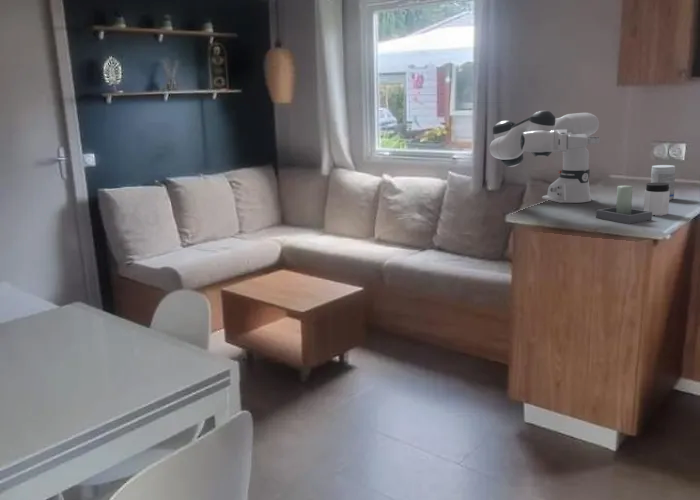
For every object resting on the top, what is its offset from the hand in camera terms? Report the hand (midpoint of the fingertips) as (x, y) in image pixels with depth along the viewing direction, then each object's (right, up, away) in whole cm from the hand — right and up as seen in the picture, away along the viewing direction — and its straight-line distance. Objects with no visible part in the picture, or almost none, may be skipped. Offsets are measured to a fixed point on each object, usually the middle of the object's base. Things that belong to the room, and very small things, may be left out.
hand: (599, 139), depth 254 cm
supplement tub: (+41, -20, +36) cm, 58 cm away
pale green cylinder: (+8, -30, -2) cm, 32 cm away
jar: (+24, -29, +5) cm, 38 cm away
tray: (+8, -31, -2) cm, 32 cm away
